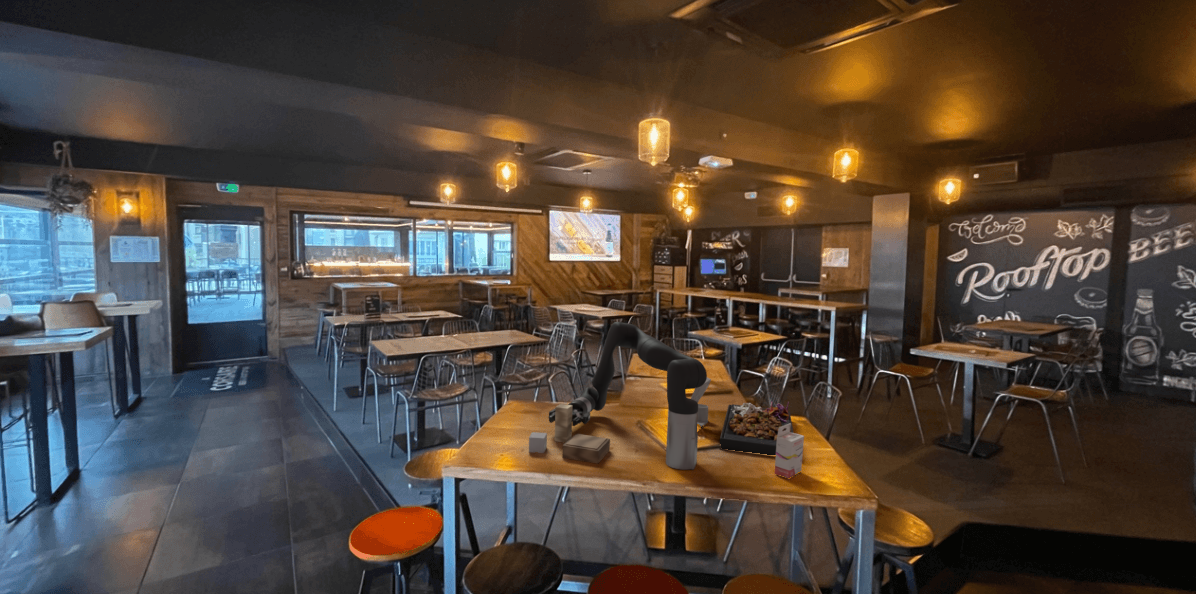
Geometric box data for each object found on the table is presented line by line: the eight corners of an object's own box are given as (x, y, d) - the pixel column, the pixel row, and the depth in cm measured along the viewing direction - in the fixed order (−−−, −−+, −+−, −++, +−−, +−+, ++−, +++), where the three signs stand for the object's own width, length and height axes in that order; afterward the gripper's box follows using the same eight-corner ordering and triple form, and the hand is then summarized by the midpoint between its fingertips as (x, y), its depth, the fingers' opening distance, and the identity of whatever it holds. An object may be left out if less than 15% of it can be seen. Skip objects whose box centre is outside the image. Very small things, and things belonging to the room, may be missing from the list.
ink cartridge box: (789, 480, 153) (792, 431, 152) (773, 475, 156) (776, 427, 155) (802, 472, 159) (805, 426, 158) (786, 467, 162) (789, 422, 161)
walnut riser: (609, 450, 172) (610, 437, 171) (598, 463, 160) (598, 450, 160) (575, 445, 176) (576, 432, 175) (562, 457, 164) (562, 444, 164)
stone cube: (546, 447, 173) (546, 433, 172) (543, 453, 168) (544, 438, 167) (531, 446, 173) (532, 432, 172) (528, 452, 168) (529, 437, 168)
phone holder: (685, 416, 213) (687, 373, 212) (709, 420, 208) (711, 376, 207) (671, 428, 197) (673, 381, 196) (697, 432, 193) (699, 385, 192)
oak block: (571, 438, 182) (572, 405, 181) (566, 442, 177) (567, 408, 177) (559, 436, 183) (560, 403, 182) (554, 441, 179) (555, 407, 178)
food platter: (727, 414, 219) (729, 390, 219) (789, 422, 212) (791, 397, 211) (719, 450, 177) (720, 421, 176) (795, 461, 169) (797, 431, 168)
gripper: (561, 397, 195) (543, 408, 180) (596, 401, 191) (581, 413, 176) (560, 416, 196) (542, 429, 181) (596, 421, 191) (580, 435, 176)
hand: (561, 421), depth 178 cm, fingers open, 8 cm apart
